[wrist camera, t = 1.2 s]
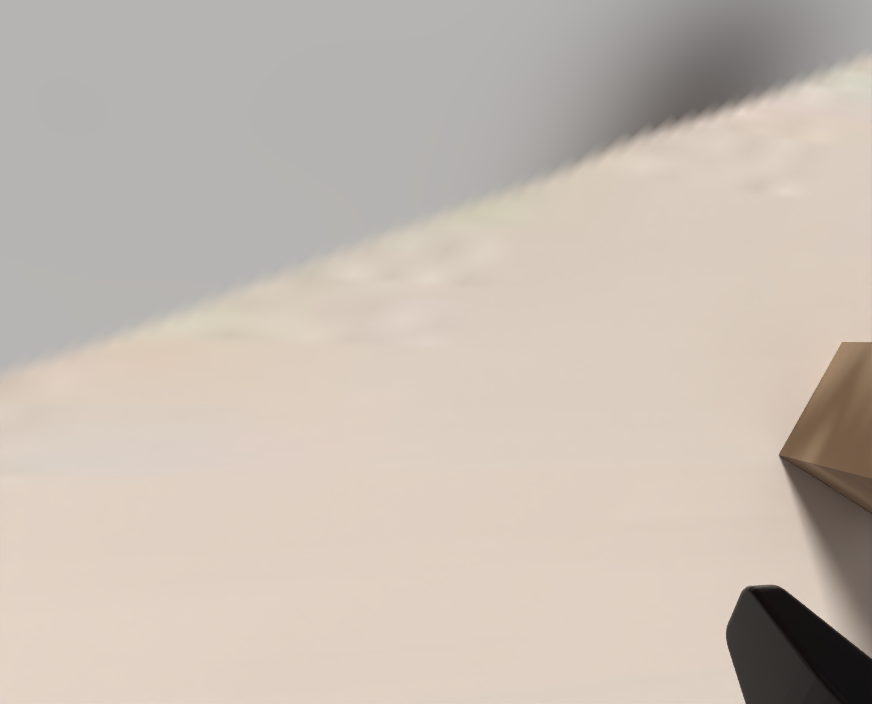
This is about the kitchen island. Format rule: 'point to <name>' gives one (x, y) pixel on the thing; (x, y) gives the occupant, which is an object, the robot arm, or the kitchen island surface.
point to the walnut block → (839, 426)
